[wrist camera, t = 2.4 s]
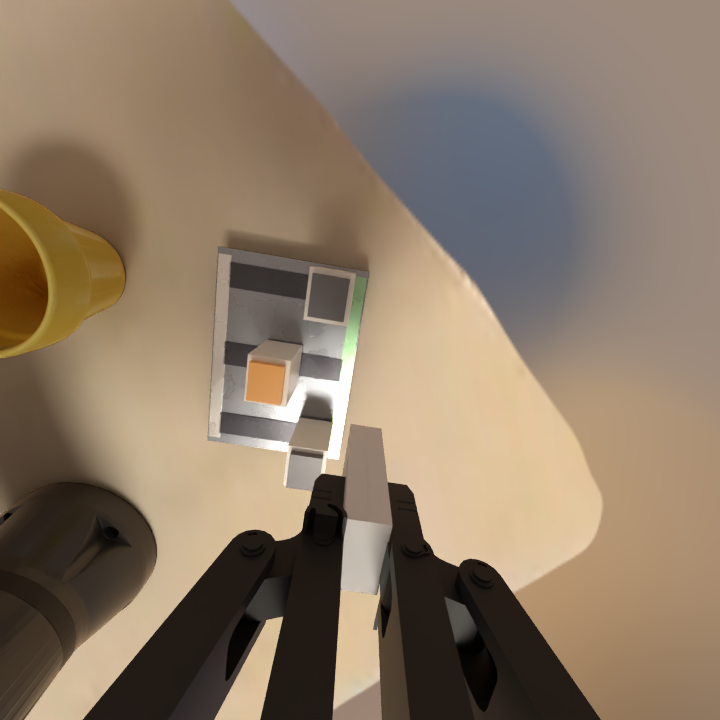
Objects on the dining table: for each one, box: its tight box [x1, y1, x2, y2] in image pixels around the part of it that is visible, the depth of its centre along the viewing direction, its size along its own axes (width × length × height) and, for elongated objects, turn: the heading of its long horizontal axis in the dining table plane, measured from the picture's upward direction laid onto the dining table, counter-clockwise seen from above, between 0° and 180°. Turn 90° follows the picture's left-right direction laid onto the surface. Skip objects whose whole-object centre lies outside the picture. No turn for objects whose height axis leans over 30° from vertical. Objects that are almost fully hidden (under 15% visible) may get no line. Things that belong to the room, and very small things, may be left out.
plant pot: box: [0, 189, 125, 358], centre depth 25 cm, size 10×10×10 cm
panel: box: [208, 246, 369, 459], centre depth 30 cm, size 12×17×2 cm
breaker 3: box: [283, 417, 333, 491], centre depth 28 cm, size 3×4×6 cm
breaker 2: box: [303, 266, 356, 327], centre depth 25 cm, size 3×4×6 cm
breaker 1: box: [244, 340, 303, 407], centre depth 27 cm, size 3×4×6 cm
